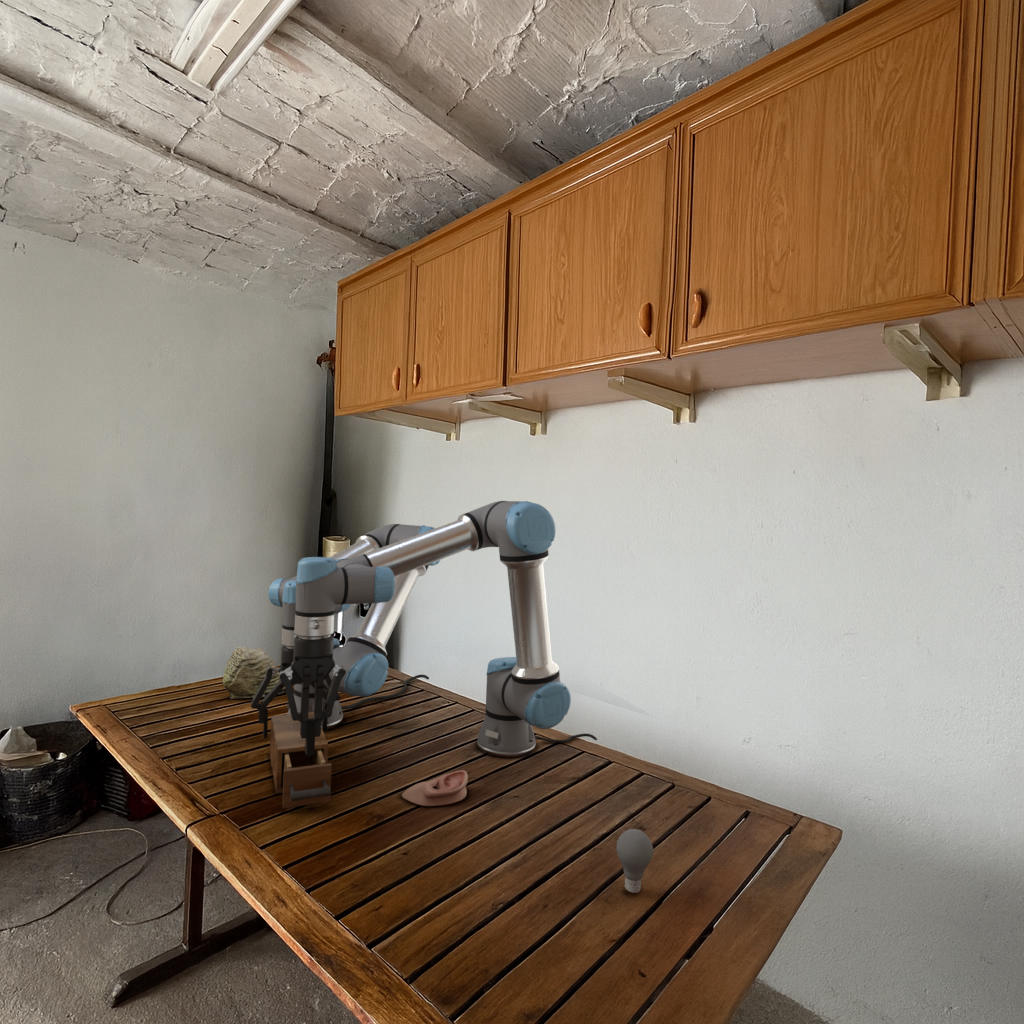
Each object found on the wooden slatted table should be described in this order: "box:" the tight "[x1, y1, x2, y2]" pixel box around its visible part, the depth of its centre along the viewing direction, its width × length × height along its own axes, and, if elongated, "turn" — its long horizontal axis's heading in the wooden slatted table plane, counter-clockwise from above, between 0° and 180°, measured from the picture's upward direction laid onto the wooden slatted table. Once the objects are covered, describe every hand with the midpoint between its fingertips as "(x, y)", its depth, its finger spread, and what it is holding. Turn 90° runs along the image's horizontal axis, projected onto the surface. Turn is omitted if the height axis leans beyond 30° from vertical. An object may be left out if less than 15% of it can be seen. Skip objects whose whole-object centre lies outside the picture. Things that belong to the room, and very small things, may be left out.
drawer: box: [281, 749, 332, 809], centre depth 135 cm, size 26×9×8 cm, turn 24°
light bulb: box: [615, 828, 654, 894], centre depth 106 cm, size 6×6×10 cm
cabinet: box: [269, 712, 329, 794], centre depth 146 cm, size 22×10×10 cm, turn 24°
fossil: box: [222, 646, 286, 699], centre depth 198 cm, size 9×18×15 cm, turn 132°
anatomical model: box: [401, 769, 469, 807], centre depth 137 cm, size 13×4×12 cm
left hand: (295, 733), depth 152 cm, fingers open, 13 cm apart
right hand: (309, 752), depth 126 cm, fingers closed
